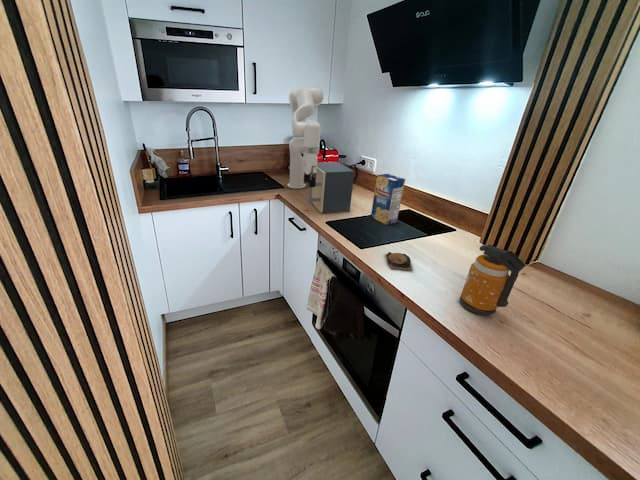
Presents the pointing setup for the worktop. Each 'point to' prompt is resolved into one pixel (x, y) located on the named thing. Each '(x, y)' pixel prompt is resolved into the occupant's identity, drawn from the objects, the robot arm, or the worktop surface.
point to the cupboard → (337, 187)
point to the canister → (490, 280)
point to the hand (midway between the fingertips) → (309, 184)
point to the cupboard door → (318, 190)
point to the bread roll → (398, 261)
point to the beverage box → (387, 198)
